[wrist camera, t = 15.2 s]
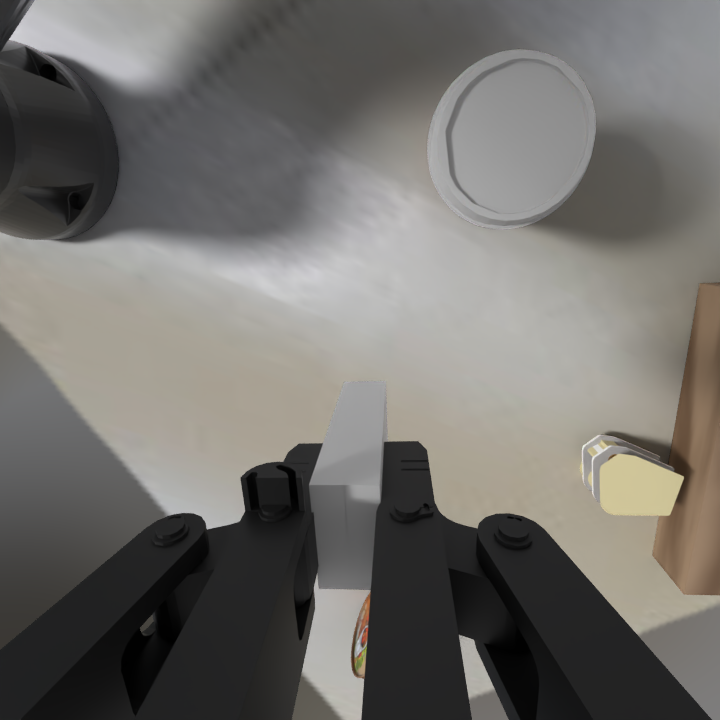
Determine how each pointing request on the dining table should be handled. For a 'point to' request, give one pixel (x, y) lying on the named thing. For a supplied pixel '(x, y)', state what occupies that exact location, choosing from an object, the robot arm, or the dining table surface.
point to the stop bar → (696, 461)
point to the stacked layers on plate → (628, 478)
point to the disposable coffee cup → (511, 139)
